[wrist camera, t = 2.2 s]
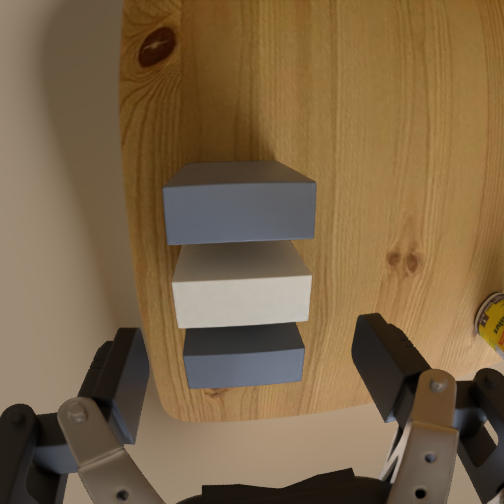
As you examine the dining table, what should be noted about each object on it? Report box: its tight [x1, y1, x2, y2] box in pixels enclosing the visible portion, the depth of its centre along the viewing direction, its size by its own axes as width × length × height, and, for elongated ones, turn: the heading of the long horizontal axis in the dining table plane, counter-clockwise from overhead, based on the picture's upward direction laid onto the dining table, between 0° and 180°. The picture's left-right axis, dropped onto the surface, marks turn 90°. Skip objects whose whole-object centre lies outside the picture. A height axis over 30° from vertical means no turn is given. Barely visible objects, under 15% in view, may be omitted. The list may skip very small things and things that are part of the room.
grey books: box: [162, 161, 317, 389], centre depth 18 cm, size 10×6×9 cm, turn 1°
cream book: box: [172, 240, 312, 328], centre depth 18 cm, size 2×6×9 cm, turn 91°
